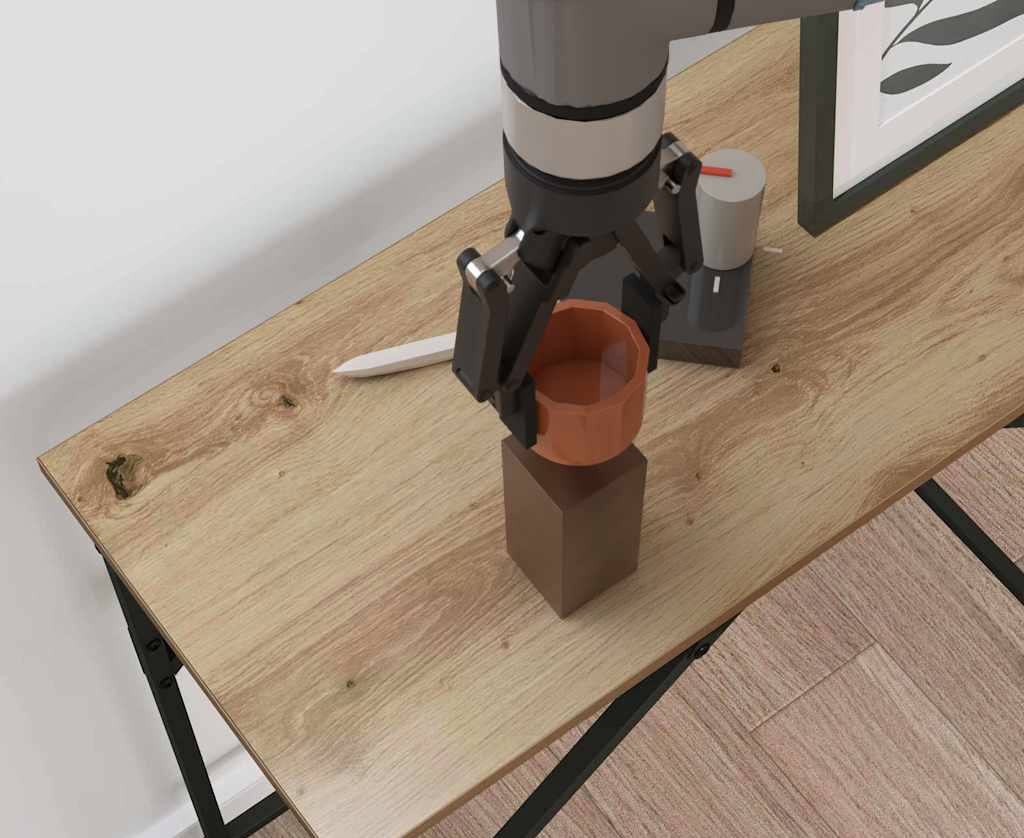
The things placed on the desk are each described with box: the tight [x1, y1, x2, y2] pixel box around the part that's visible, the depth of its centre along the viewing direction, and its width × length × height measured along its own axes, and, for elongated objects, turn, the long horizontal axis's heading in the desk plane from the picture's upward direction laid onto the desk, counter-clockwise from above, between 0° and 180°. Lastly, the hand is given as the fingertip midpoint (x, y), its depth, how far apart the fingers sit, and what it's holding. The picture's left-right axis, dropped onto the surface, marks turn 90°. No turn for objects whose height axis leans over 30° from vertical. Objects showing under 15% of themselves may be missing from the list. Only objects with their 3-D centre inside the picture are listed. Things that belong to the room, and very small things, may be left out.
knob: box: [695, 148, 768, 270], centre depth 120 cm, size 5×5×8 cm
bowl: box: [527, 299, 650, 466], centre depth 94 cm, size 8×8×6 cm
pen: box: [331, 331, 457, 378], centre depth 122 cm, size 2×14×2 cm, turn 106°
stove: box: [558, 210, 783, 369], centre depth 124 cm, size 16×14×3 cm
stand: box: [500, 433, 649, 620], centre depth 107 cm, size 7×7×15 cm
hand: (578, 393), depth 95 cm, fingers closed on bowl, 8 cm apart
